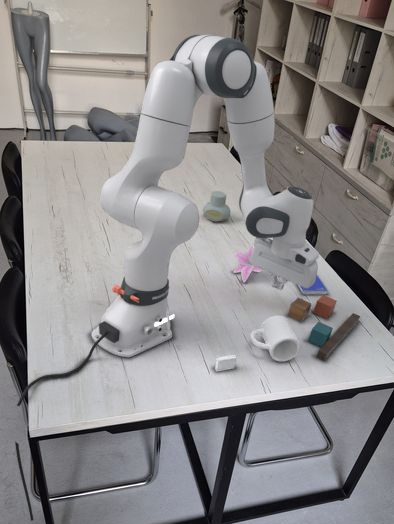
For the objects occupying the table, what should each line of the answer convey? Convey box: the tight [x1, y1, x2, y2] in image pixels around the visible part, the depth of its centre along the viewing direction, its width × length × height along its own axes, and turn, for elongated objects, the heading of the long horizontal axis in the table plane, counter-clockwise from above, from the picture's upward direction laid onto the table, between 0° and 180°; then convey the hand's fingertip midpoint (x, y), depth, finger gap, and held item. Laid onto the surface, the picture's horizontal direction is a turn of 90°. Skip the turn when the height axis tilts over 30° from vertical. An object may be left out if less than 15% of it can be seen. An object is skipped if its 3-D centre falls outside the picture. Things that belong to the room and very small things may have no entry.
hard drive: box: [297, 275, 328, 295], centre depth 160 cm, size 2×8×12 cm
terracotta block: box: [313, 294, 338, 320], centre depth 147 cm, size 4×4×4 cm
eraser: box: [214, 354, 237, 372], centre depth 123 cm, size 1×5×4 cm, turn 110°
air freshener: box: [202, 190, 232, 223], centre depth 190 cm, size 11×8×10 cm
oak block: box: [287, 297, 312, 323], centre depth 144 cm, size 4×4×4 cm
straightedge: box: [316, 312, 361, 362], centre depth 138 cm, size 24×2×2 cm, turn 143°
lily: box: [233, 243, 263, 284], centre depth 159 cm, size 12×12×10 cm
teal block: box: [307, 321, 334, 348], centre depth 136 cm, size 4×4×4 cm
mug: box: [249, 315, 301, 362], centre depth 129 cm, size 12×10×8 cm
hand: (277, 287), depth 146 cm, fingers closed
